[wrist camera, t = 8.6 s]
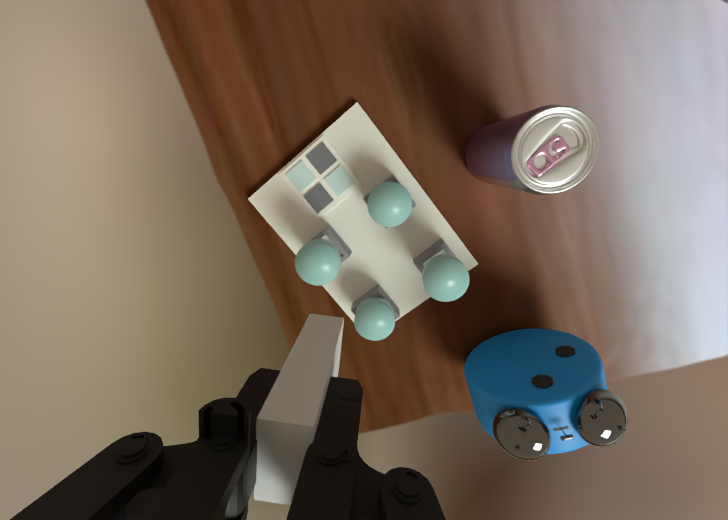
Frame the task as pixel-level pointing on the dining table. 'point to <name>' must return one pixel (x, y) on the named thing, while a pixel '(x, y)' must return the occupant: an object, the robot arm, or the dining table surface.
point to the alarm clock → (543, 393)
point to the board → (358, 215)
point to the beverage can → (535, 150)
